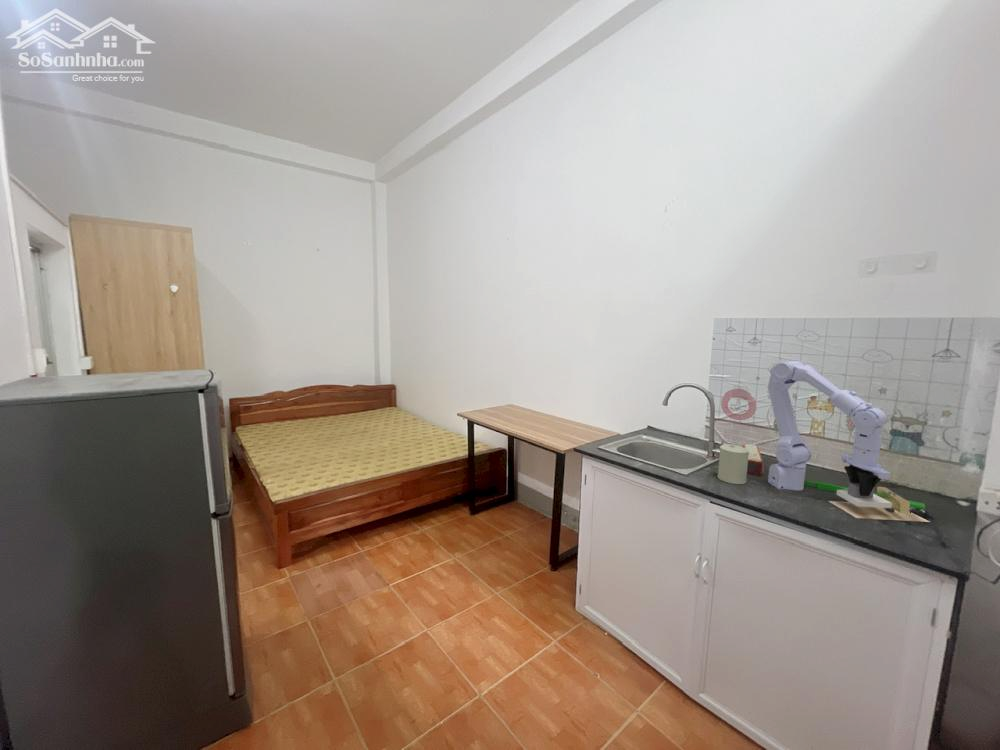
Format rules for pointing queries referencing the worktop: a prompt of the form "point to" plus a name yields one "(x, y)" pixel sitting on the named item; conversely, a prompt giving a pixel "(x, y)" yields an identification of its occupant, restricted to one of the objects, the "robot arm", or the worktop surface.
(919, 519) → the board
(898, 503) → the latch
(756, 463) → the snack package
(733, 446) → the can
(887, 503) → the cover
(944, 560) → the worktop surface
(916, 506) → the green onion
